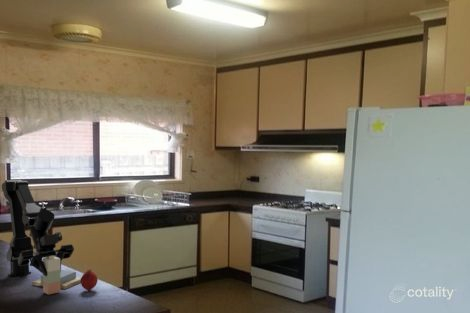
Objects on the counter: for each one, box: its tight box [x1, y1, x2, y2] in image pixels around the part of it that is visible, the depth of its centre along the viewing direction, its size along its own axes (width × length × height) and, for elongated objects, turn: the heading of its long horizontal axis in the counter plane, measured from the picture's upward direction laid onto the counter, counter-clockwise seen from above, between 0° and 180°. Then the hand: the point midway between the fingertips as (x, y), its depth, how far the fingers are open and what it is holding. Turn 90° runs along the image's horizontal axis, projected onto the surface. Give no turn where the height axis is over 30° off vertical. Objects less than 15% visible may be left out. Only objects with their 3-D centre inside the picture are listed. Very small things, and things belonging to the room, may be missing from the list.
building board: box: [31, 276, 82, 290], centre depth 180 cm, size 15×11×1 cm
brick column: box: [42, 256, 61, 295], centre depth 167 cm, size 4×4×13 cm
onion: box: [80, 268, 98, 292], centre depth 170 cm, size 6×6×8 cm
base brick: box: [40, 269, 77, 284], centre depth 180 cm, size 9×9×2 cm
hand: (53, 274), depth 166 cm, fingers closed on brick column, 4 cm apart
